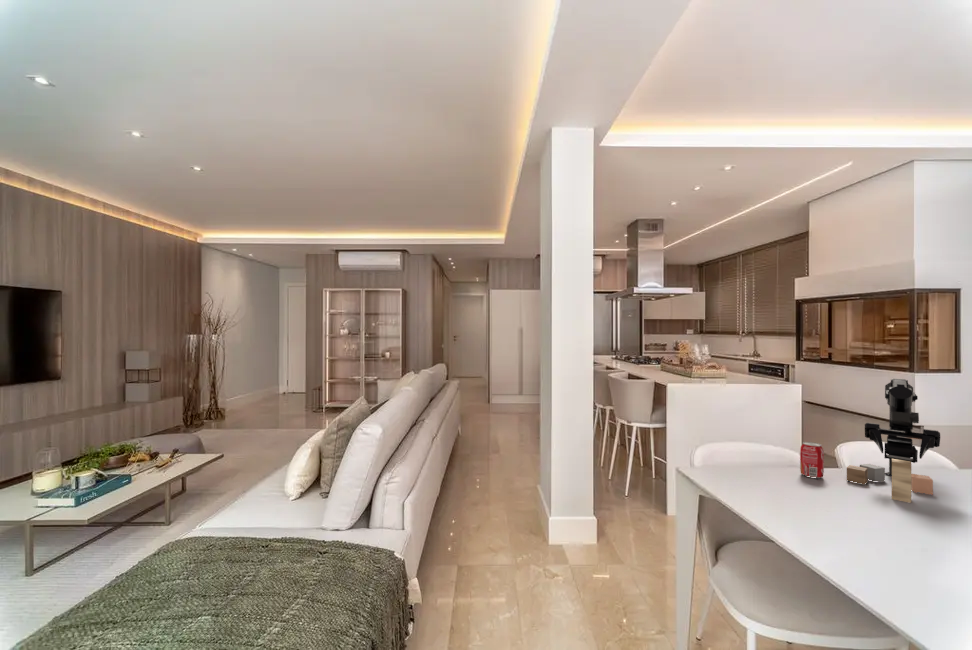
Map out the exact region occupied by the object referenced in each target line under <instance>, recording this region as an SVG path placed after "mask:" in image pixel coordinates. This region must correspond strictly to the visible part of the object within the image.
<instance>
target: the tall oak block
mask: <svg viewBox="0 0 972 650" xmlns="http://www.w3.org/2000/svg"><path fill="white" fill-rule="evenodd" d="M911 474H912V462H911V461H905V460H898V459H892V476H891V500H893V501H900V502H904V503H909V504H911V503H912V491H911Z"/></svg>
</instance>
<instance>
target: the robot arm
mask: <svg viewBox="0 0 972 650" xmlns="http://www.w3.org/2000/svg"><path fill="white" fill-rule="evenodd" d="M884 399H886V402H887V403H886V404H887V405H888V406H889V413H888V414H889V420H888V421H889V422H888V424H889V426H888V427H889V428H885V427H880V423H874V422H866V423H864V437H865V438H867V439H869V440H870V441H873V442H874V443H875V445H876V446H877V447H878V449H879V451H880V452H881V454H884V459H888V471H887V472H885V475H886V474H889V475H888V476H890V475H892V459H898V460H905V461H911V463H913V464H915V463H918V458H919V460H920V459H922V458H923V457H924V455H925V453H926V452H927V451H928V450H930V449H934V448H938V447H940V444H941V432H939V430H935V429H926V428H922V433H921V432H916V431H915V432H914V431H913V428H914V425H913V424H919V423H920V417H919V416H920V415H919V412H915V411H914V412H913V411H912V406H913V403H916V401H917V400H919V399H918V395H917V394H916V392H915V391H914V387H913V386H912V385H911V384H909V381H908V379H905V378H891V379H890V382H888V383H886V384H885V385H884ZM882 435H887V436H886V441H884V443H883V440H882V439H883V437H882ZM913 440H919V441H920V440H921V443H920V448H919V452H918V449H916V446H915V445H913ZM918 453H919V457H918Z"/></svg>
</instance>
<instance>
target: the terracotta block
mask: <svg viewBox="0 0 972 650" xmlns="http://www.w3.org/2000/svg"><path fill="white" fill-rule="evenodd" d="M911 490H912V491H914V492H913V493H917V492H920V493H919V494H923V493H925V494H924V495H930V494H931V496H932V495H933V494H934V480H933V479H932V478H931V477H930V476H929V475H923V474H916V473H911ZM912 491H911V492H912ZM933 496H934V495H933Z"/></svg>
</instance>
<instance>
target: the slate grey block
mask: <svg viewBox="0 0 972 650" xmlns="http://www.w3.org/2000/svg"><path fill="white" fill-rule="evenodd" d="M859 467H863V468H868V479H869V480H872V481H884V480H885V481H886V479H885V478H886V474H885V473H886V468H885V467H883V466H880V465H876V464H872V463H863V464H861V463H860V464H859Z"/></svg>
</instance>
